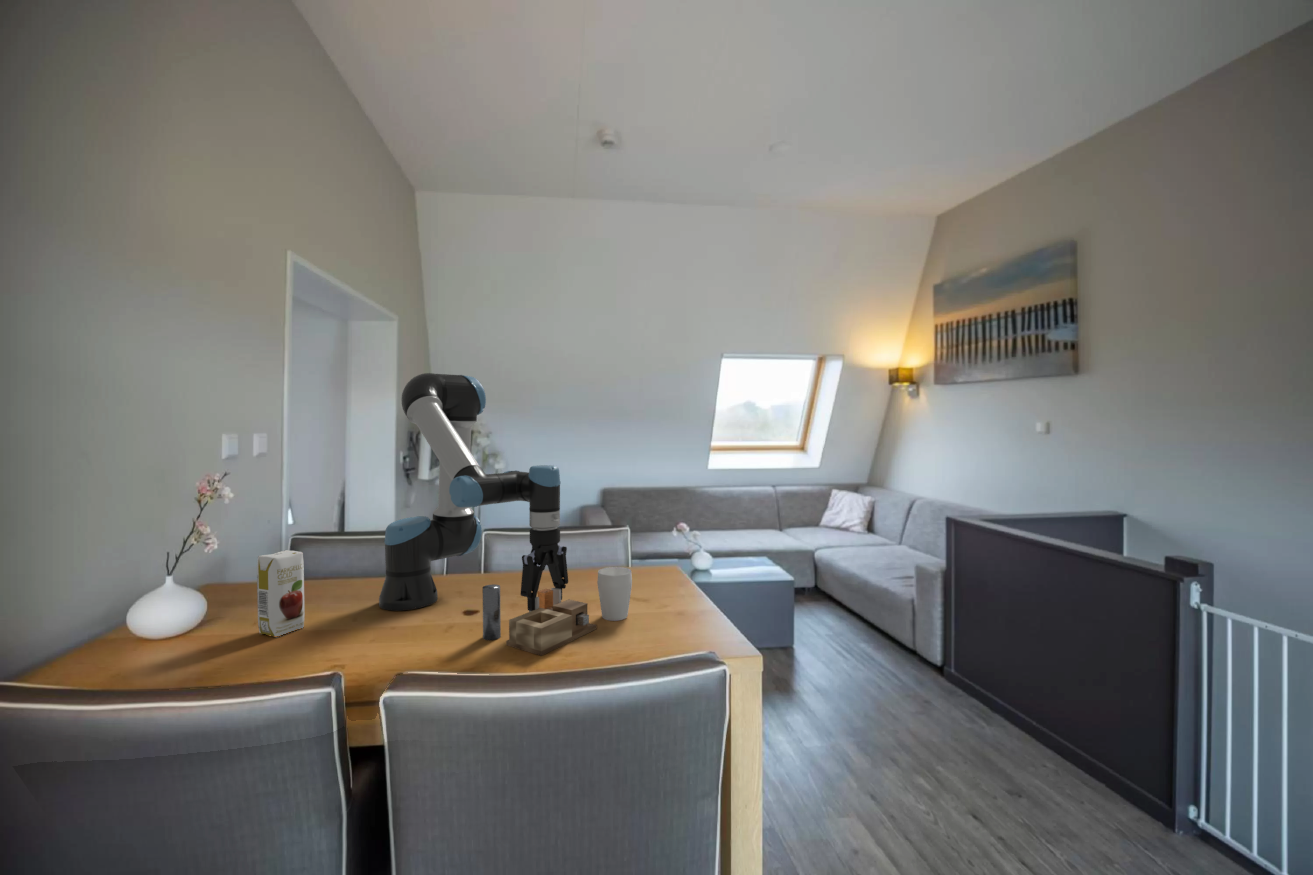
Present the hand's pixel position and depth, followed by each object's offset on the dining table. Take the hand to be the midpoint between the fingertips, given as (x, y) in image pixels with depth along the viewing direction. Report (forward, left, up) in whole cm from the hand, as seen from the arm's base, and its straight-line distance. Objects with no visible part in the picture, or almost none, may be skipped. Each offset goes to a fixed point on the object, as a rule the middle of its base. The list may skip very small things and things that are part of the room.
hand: (545, 618), depth 143 cm
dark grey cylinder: (-5, -13, -2) cm, 14 cm away
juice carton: (-51, -38, -2) cm, 63 cm away
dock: (+7, -5, -2) cm, 9 cm away
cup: (+11, +14, -2) cm, 18 cm away
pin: (+5, 0, -2) cm, 5 cm away
